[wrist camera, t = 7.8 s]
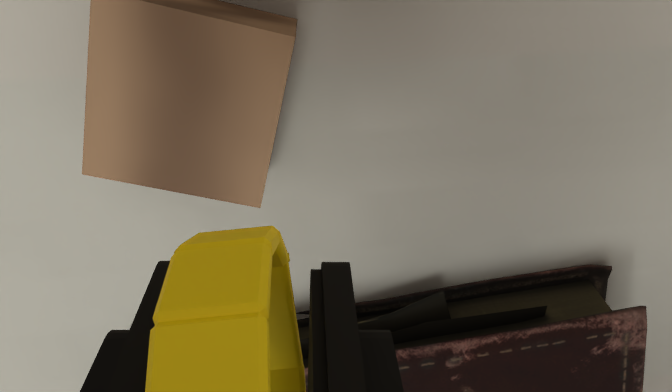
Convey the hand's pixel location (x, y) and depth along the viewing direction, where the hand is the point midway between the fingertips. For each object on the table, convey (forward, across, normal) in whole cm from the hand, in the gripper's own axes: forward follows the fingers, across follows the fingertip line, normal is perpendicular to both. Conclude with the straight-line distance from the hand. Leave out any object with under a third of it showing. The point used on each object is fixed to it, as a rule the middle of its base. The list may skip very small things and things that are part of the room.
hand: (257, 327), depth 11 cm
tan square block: (+16, +4, 0) cm, 16 cm away
